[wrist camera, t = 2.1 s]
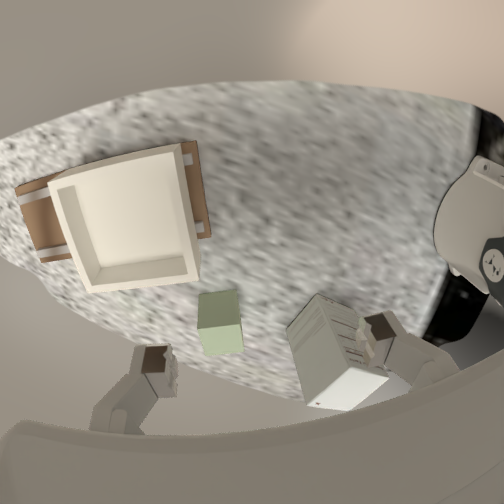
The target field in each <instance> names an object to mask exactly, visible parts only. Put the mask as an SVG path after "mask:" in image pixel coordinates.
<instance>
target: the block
mask: <svg viewBox="0 0 504 504" xmlns="http://www.w3.org/2000/svg"><path fill="white" fill-rule="evenodd" d="M197 330H198V333H199V336H200V340H201V343H202V346H203V349H204V352H205V356H210V355H220V354H229V353H237V352H245V351H244V343H243V334H242V325H241V316H240V310H239V304H238V298H237V291H236V290H229V291H221V292H213V293H205V294H199V306H198V324H197Z"/></svg>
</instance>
